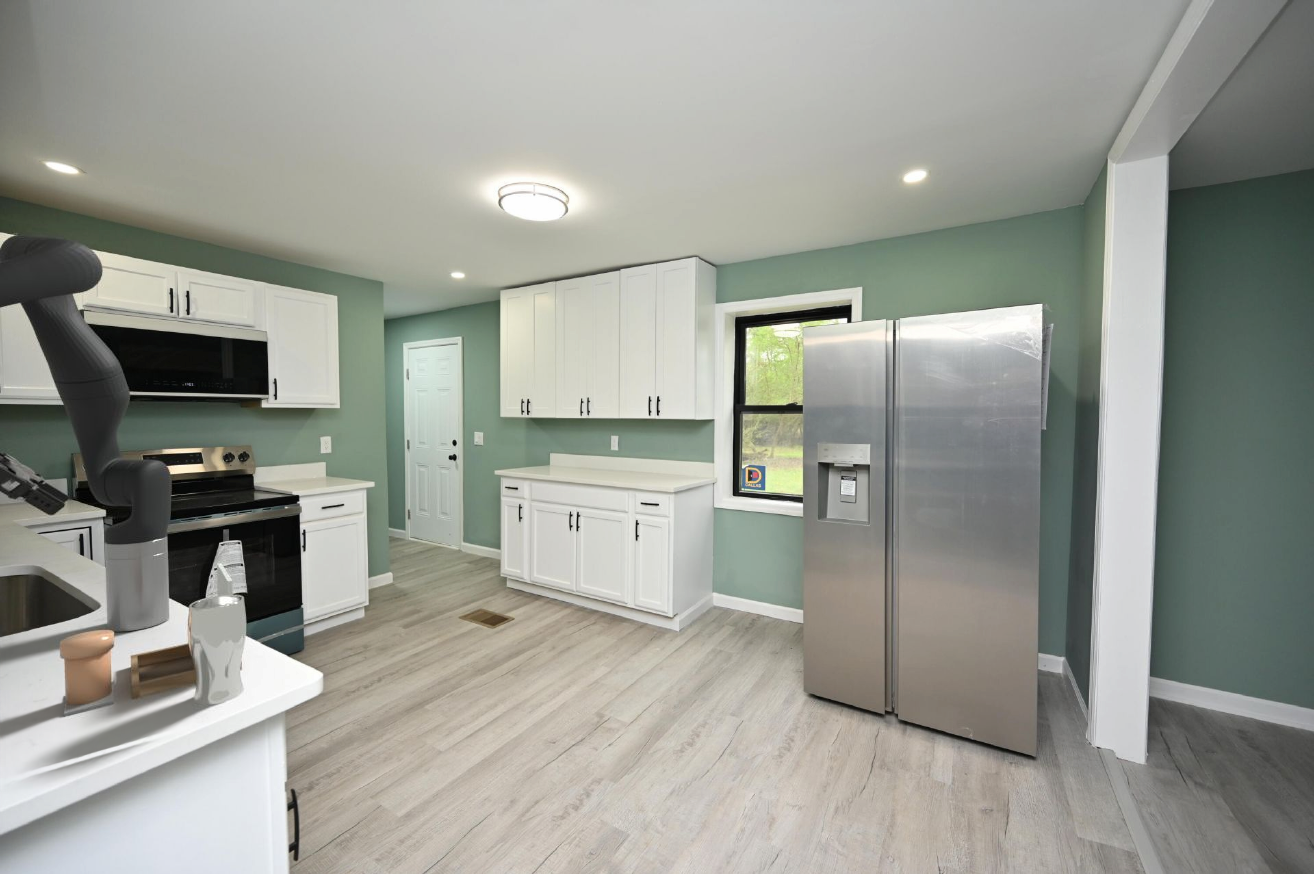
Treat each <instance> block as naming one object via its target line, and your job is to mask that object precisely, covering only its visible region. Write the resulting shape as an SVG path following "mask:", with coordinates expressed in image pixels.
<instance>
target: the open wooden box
mask: <svg viewBox="0 0 1314 874" xmlns="http://www.w3.org/2000/svg"><path fill="white" fill-rule="evenodd" d="M242 661H243V660H241V667H240V671H242V670H243V669H242V668H243V667H242ZM130 673H131V677H130V679H131V697H132V700H135V699H139V698H142V697H143V698H144V697H146V696H151V695H155V694H158V693H162V692H167V691H169V690H170V691H171V690H174V689H177V688H183V687H186V686H189V685H190V686H191V685H194V684H195V685H196V675H195V670H194V666H193V663H192V659H191V655H190V651H189V645H188V642H187V643H184V644H179V645H172V646H169V647H165V648H160V649H156V650H151V651H145V652H141V653H137V654H132V655H130Z"/></svg>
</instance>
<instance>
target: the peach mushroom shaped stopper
mask: <svg viewBox="0 0 1314 874" xmlns="http://www.w3.org/2000/svg"><path fill="white" fill-rule="evenodd" d="M114 647H115V631H111V630H108V629H100V630H99V629H98V630H97V629H96V630H90V631H86V632H80V633H76V634H74V635H69V636H67V637H65V638H63V639H62V640H60V642H59V658H61V659H63V660H64V664H63V665H64V690H65V691H64V692H65V704H67V705H72V706H74V705H83V704H88V703H92V702H95V701H98V700H101V699H103V698H105V697H107V696H108V695H110V694H111V693H112V682H113V681H112V679H113V678H112V649H113V648H114Z"/></svg>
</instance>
